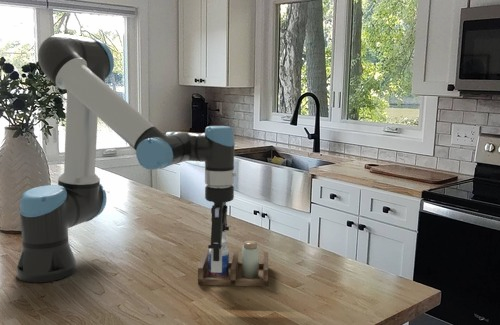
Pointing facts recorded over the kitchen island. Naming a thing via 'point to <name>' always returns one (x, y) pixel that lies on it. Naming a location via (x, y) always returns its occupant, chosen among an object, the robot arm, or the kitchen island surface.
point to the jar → (250, 260)
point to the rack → (232, 273)
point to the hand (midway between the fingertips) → (219, 262)
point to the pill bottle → (224, 261)
